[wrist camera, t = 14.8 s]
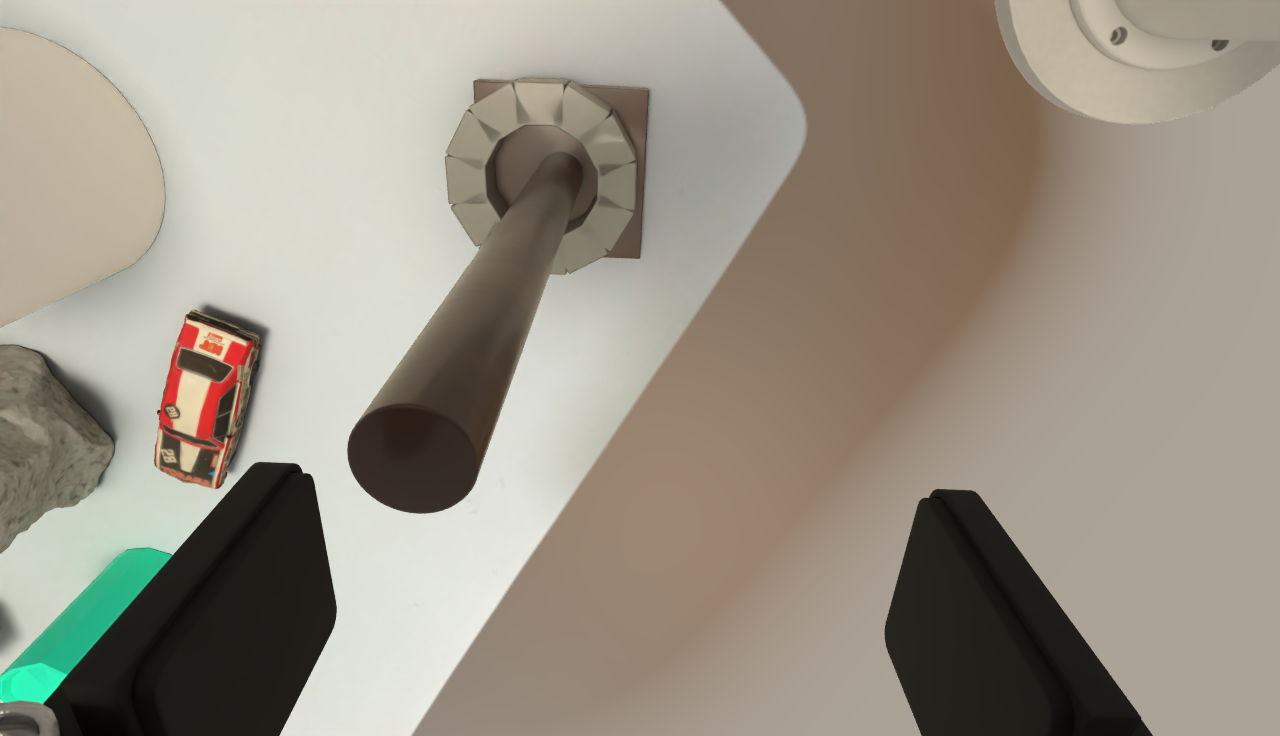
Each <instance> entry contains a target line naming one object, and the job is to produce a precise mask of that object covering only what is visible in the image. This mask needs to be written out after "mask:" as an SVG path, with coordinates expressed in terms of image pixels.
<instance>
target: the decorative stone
mask: <svg viewBox="0 0 1280 736" xmlns="http://www.w3.org/2000/svg"><path fill="white" fill-rule="evenodd" d="M113 452H114V444H113V440H112V439H111V438H110V437H109V436H108V435H107V434H106V433H105V432H104V431H103V429H102V428H101V426H100V425H99V424H98V423H97V422H96V421H95V420H94V418H92V417H91V415H90V414H89V413H87V412H86V411H85V410H84V409H83V408H81V406H80V405H79V404H78V403H77V402H76V401H75V400H74V399H73V398H72V397H71V395H70V393H69V391H68V390H66V389H65V388H64V386H62V385H61V383H60V382H59V381H58V380H57V379H56V378H55V377H53V376H52V374H51V371H50V370H49V369H48V367H47V365H46V363H45V360H44V358H43V357H42V356H41V355H40V354H39V353H37V352H34V351H32V350H28V349H25V348H22V347H20V346H17V345H15V346H14V345H2V346H0V554H1V553H2V552H3V551H4V550H6V549H7V548H8V547H9V546H10V544H11V543H12V541H13V540H14V539H15V537H16V535H17V534H19V533H21V532H23V531H26V530H28V528H29V527H30V526H31V524H33V523H34V522H36V521H37V520H38V519H39V518H40V517H41V516H42V515H43V514H44V513H45V512H47V511H50V510H52V509H54V508H57V507H60V508H64V507H72V506H75V505H77V504H78V503H79V501H80V500H82V499H85V498H86V497H87V496H88V495H90V494H91V493H92V492H93V491H94V489H95V487H96V486H97V485H98V479H99V477H100V474H101V473H102V472H103V471H104V470H105V469H106V468H107V466H108V464H109V461H110V459H111V458H112V456H113Z"/></svg>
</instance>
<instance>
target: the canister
mask: <svg viewBox="0 0 1280 736" xmlns="http://www.w3.org/2000/svg"><path fill="white" fill-rule="evenodd" d="M164 207H165V187H164V179H163V173H162V169H161V165H160V161H159V158H158V155H157V152H156V150H155V147H154V145H153V142H152V140H151V138H150V136H149V134H148V132H147V130H146V128H145V127H144V125H143V123H142V122H141V120H140V118H139V117H138V115H137V114H136V112H135V111H134V109H133V108H132V107H131V105H130V104H129V103H128V102H127V100H126V99H125V98H124V97H123V95H122V94H121V93H120V92H119V91H118V90H117V89H116V88H115V87H114V86H113V85H112V84H111V83H110V82H109V81H108V80H107V79H106V78H105V77H104V76H103V75H102V74H101V73H99V72H98V71H97V70H96V69H95V68H93V67H92V66H91V65H90V64H88V63H87V62H86V61H84V60H83V59H81V58H80V57H78V56H77V55H75V54H74V53H72V52H70V51H69V50H67V49H65V48H63V47H61V46H60V45H58V44H56V43H54V42H51V41H49V40H47V39H44V38H42V37H39V36H37V35H34V34H31V33H27V32H24V31H20V30H15V29H10V28H3V27H0V328H1V327H3V326H5V325H7V324H9V323H11V322H14V321H16V320H18V319H20V318H22V317H24V316H26V315H28V314H31V313H33V312H35V311H37V310H39V309H41V308H43V307H45V306H47V305H50V304H52V303H54V302H56V301H58V300H60V299H62V298H64V297H67V296H69V295H71V294H73V293H75V292H77V291H79V290H81V289H84V288H86V287H88V286H90V285H92V284H94V283H96V282H98V281H101V280H103V279H105V278H107V277H109V276H111V275H113V274H115V273H118V272H120V271H122V270H124V269H126V268H127V267H129V266H131V265H132V264H134V263H135V262H136V261H137V260H139V259H140V258H141V257H142V256H143V255H144V254H145V253H146V251H147V250H148V249H149V248H150V246H151V245H152V243H153V242H154V240H155V238H156V236H157V234H158V232H159V229H160V226H161V223H162V219H163V214H164Z"/></svg>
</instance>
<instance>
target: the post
mask: <svg viewBox="0 0 1280 736" xmlns="http://www.w3.org/2000/svg"><path fill="white" fill-rule="evenodd" d="M510 82H512V81H502V80H483V79H478V80H475V81H474V103H476V102H478V101H480V100H481V99H483V98H485V97H486V96H488V95H490V94H491V93H493V92H495V91H496V90H498V89H500V88H501V87H503V86H505V85H506V84H508V83H510ZM579 86H581V87H582V88H584V89H585V90H587V91H588V92H590V93H591V94H593V95H595V96H596V97H598V98H599V99H601V100H602V101H604V102H605V103H607V104H608V105H610V106H611V110H610V112H611V111H612V110H615V112H616V114H617V116H618V117H619V119H620V121H621V123H622V125H623V127H624V129H625V131H626V133H627V135H628V137H629V139H630V141H631V143H632V145H633V146H634V148H635V150H636V156H637V171H636V203H635V210H634V215H633V216H632V218H631V220H630V221H629V223H628V224H627V226H626V228H625V229H624V231H623V232H622V234H621V236H620V237H619V239H618V240H617V242H616V244H615V245H614V247H613V249H612V250H611V251H609V250H608V254H607V255H605V256H603V257H614V258H635V259H640V250H641V231H642V211H643V192H644V173H645V153H646V134H647V115H648V96H649V90H648V88H632V87H614V86H595V85H579ZM494 160H495V178H496V188H497V190H498V191H499V193H500V194H501V196H502V198H503V199H504V201H505V203H506V204H507V206H508V207H509V209H508V211H507V212H506V213H505V215H504V216H503V218H502V219H501V220H500V222H499V223H498V225H497V226H496V227H495V229H494V230H493V232H492V233H491V235H490V236H489V237H488V239H487V240H486V242H485V243H484V244H483V246H482V247H481V249H480V250H479V251H478V253H477V254H476V256H475V257H474V259H473V260H472V261H471V263H470V264H469V266H468V267H467V268H466V270H465V271H464V273H463V274H462V275H461V277H460V278H459V280H458V281H457V283H456V284H455V285H454V287H453V288H452V290H451V291H450V292H449V294H448V295H447V297H446V298H445V299H444V301H443V302H442V304H441V305H440V307H439V308H438V309H437V311H436V312H435V314H434V315H433V316H432V318H431V319H430V321H429V322H428V323H427V325H426V326H425V328H424V329H423V331H422V332H421V333H420V335H419V336H418V338H417V339H416V340H415V342H414V343H413V345H412V346H411V347H410V349H409V350H408V352H407V353H406V355H405V356H404V357H403V359H402V360H401V362H400V363H399V364H398V366H397V367H396V369H395V370H394V371H393V373H392V374H391V376H390V377H389V379H388V380H387V381H386V383H385V384H384V386H383V387H382V388H381V390H380V391H379V393H378V394H377V395H376V397H375V398H374V400H373V401H372V403H371V404H370V405H369V407H368V408H367V410H366V411H365V412H364V414H363V415H362V417H361V418H360V419H359V421H358V422H357V424H356V425H355V427H354V428H353V430H352V432H351V434H350V437H349V441H348V449H347V452H348V461H349V465H350V468H351V471H352V473H353V475H354V477H355V479H356V480H357V482H358V483H359V484H360V486H361V487H362V488H363V489H364V490H365V491H366V492H367V493H368V494H369V495H371V496H372V497H373V498H374V499H376V500H377V501H379V502H381V503H382V504H384V505H386V506H389V507H391V508H393V509H396V510H400V511H404V512H409V513H418V514H421V513H434V512H438V511H442V510H445V509H448V508H450V507H452V506H454V505H455V504H457V503H458V502H460V501H461V500H463V499H464V498H465V497H466V496H467V495H468V494H469V492H470V491H471V490H472V488H473V486H474V485H475V483H476V480H477V477H478V474H479V471H480V468H481V466H482V463H483V460H484V457H485V454H486V452H487V449H488V446H489V443H490V440H491V438H492V435H493V432H494V429H495V426H496V423H497V421H498V418H499V415H500V412H501V409H502V407H503V404H504V401H505V398H506V395H507V393H508V390H509V387H510V384H511V381H512V378H513V376H514V373H515V370H516V367H517V364H518V362H519V359H520V356H521V353H522V350H523V348H524V345H525V342H526V339H527V336H528V333H529V331H530V328H531V325H532V322H533V319H534V317H535V314H536V311H537V308H538V305H539V303H540V300H541V297H542V294H543V291H544V288H545V286H546V283H547V280H548V277H549V274H550V272H551V269H552V266H553V263H554V260H555V258H556V255H557V252H558V249H559V246H560V243H561V241H562V238H563V235H564V232H565V229H566V227H567V224H568V223H569V222H570V221H572V220H574V219H576V218H578V217H580V216H582V215H583V214H585V213H586V211H587V210H588V208H589V206H590V205H591V203H592V201H593V200H594V198H595V196H596V194H597V170H596V168H595V166H594V164H593V163H592V161H591V159H590V157H589V155H588V153H587V152H586V150H585V148H584V146H583V144H582V143H581V142H579V141H578V140H576V139H575V138H573V137H572V136H570V135H568V134H567V133H565V132H564V131H562V130H560V129H559V128H557V127H556V126H531V125H525V126H523V127H521V128H519V129H518V130H516V131H514V132H512V133H511V134H509V135H507V136H506V137H505V139H504V141H503V143H502V145H501V147H500V149H499V151H498V153H497V154H496V156H495V158H494Z"/></svg>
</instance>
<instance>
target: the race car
mask: <svg viewBox="0 0 1280 736" xmlns="http://www.w3.org/2000/svg"><path fill="white" fill-rule="evenodd" d="M261 338H262V337H261V336H260V335H258V334H257V333H252V332H250V331H249V330H247V329H242V328H241V327H239V326H238V325H235V324H233V323H230V322H227V321H222V320H221V319H217V318H215V317H212V316H209V315H206V314H203V313H201V312H198V311H197V310H191V312H190V313H189V314H186V316H185V322H184V325H183V328H182V330H181V333H180V335H179V337H178V340H177V343H176V346H175V349H174V352H173V355H172V359H171V365H170V370H169V373H168V377H167V381H166V387H165V389H164V392H163V399H162V403H161V410H158V411H157V414H158V415H160V417H159V420H160V422H159V428H158V436H157V442H156V445H155V459H154V462H155V466H156V467H157V468H158V469H160V470H161V471H162V472H165V473H167V474H168V475H169V476H172V477H175V478H177V479H178V480H180V481H182V482H183V483H193V484H198V485H201V486H205V487H209V488H213V489H218V488H220V487H221V486H222V484H224V480H225V478H226V477H227V472H226V469H227V467H228V466H229V464H230V463H231V460H232V459H233V456H234V453H235V450H236V449H235V448H236V446H237V443H238V440H239V437H240V433H241V429H242V425H243V422H244V417H245V412H246V408H247V403H248V399H249V395H250V391H251V386H252V381H251V380H252V378H253V376H254V375H255V373H256V371H257V369H258V366H259V365H258V363H259V360H258V359H257V356H258V354H259V351H260V346H261V345H260V341H261Z"/></svg>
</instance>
